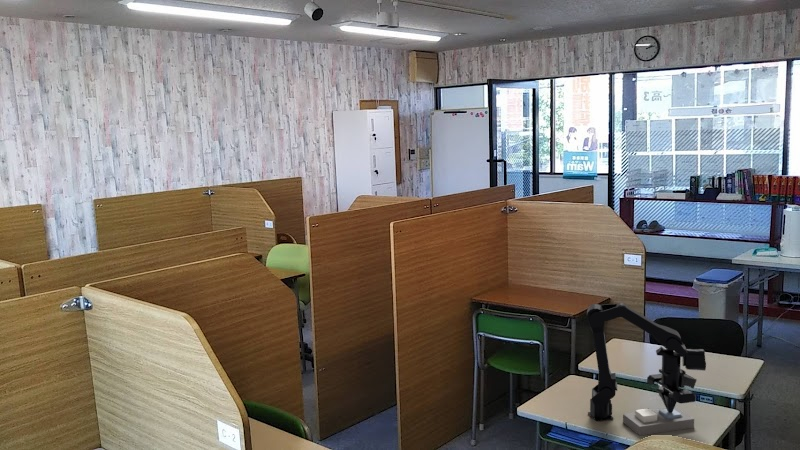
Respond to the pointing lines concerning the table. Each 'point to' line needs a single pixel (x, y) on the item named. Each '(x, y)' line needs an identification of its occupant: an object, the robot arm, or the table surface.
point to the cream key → (645, 415)
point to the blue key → (670, 414)
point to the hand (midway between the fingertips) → (670, 412)
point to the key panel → (658, 423)
